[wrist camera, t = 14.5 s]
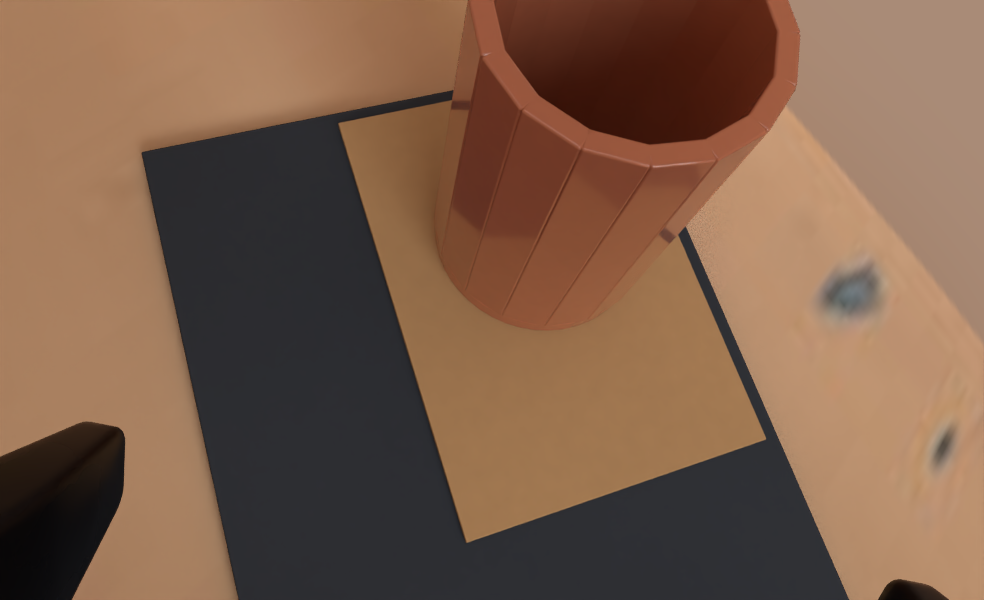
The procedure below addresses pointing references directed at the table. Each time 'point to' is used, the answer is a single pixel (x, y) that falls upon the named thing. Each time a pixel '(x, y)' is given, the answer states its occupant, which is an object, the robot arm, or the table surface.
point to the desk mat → (455, 396)
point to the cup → (596, 141)
